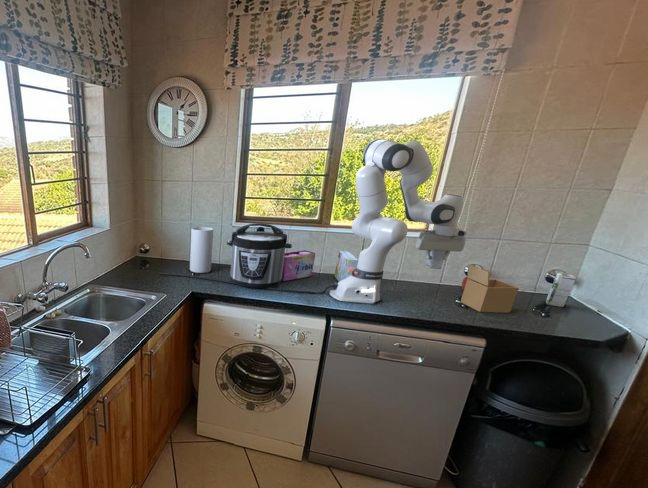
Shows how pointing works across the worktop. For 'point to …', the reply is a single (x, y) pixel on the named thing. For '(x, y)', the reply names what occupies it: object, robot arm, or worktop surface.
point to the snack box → (345, 265)
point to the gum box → (298, 265)
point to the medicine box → (436, 259)
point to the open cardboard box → (489, 296)
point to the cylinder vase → (201, 249)
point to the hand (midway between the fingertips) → (435, 259)
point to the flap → (478, 275)
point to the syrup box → (560, 289)
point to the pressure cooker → (257, 256)
